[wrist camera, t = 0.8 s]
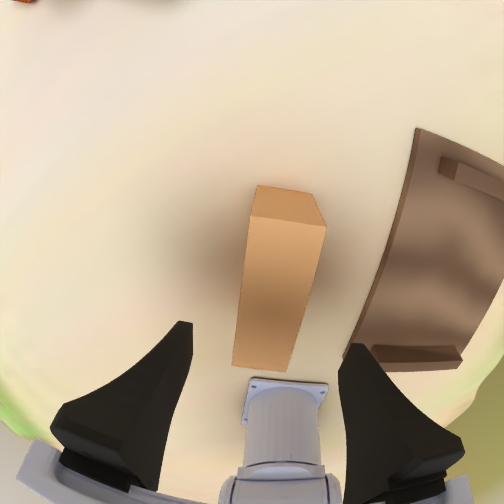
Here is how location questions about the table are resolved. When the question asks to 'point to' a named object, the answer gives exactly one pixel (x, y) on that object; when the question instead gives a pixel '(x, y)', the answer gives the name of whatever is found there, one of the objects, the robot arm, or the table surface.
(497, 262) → the walnut cradle
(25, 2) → the brown lumpy shape
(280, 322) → the tall tan cuboid
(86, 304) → the table surface
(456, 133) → the table surface
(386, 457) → the robot arm
